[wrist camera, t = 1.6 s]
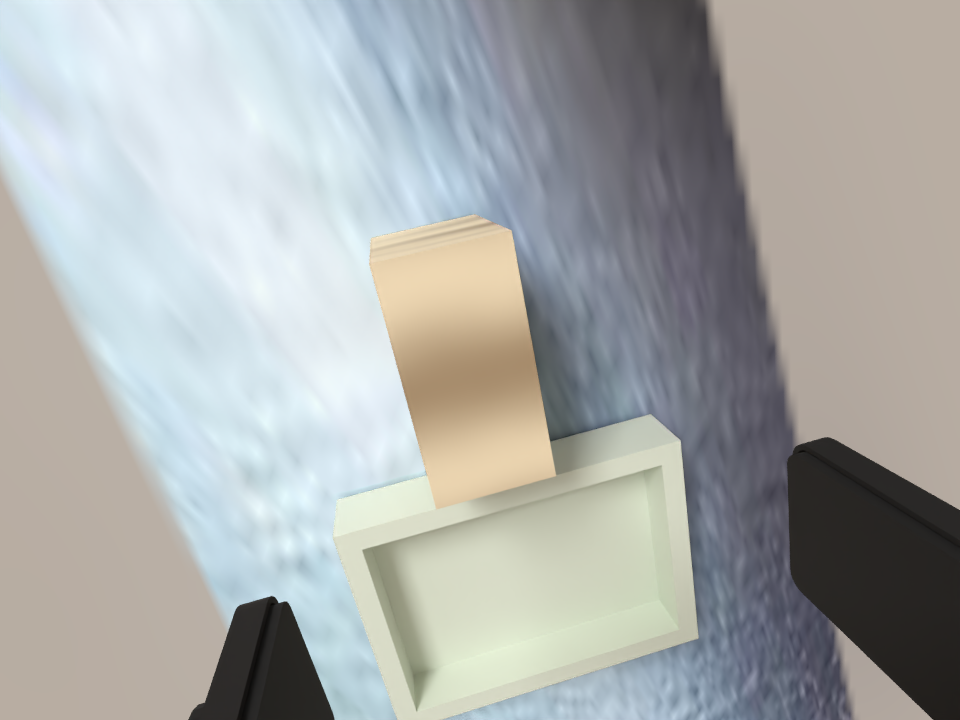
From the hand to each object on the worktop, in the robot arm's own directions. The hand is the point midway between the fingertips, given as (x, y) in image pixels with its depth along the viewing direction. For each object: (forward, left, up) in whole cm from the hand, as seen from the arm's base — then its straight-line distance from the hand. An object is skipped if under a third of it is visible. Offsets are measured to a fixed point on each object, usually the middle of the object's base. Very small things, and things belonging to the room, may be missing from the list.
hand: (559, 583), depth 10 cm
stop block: (0, 0, -17) cm, 17 cm away
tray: (+13, +1, -16) cm, 21 cm away
